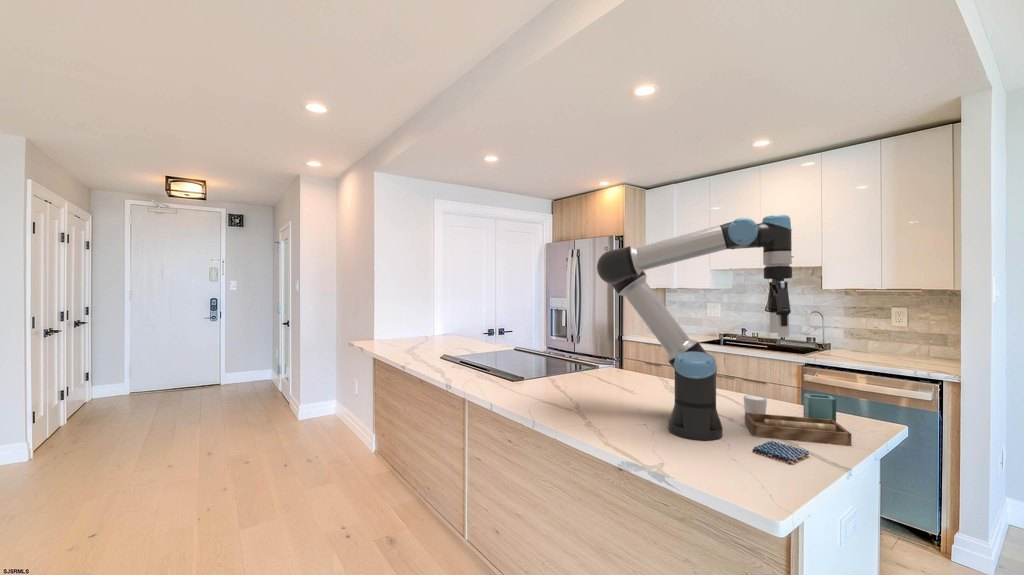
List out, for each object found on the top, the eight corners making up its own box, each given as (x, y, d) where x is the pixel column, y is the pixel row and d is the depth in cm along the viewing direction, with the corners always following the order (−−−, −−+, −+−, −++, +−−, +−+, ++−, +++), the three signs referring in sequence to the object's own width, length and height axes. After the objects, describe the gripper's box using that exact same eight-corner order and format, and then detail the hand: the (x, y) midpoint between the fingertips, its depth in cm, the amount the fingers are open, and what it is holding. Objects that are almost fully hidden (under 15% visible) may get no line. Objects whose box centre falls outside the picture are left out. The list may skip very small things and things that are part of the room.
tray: (753, 436, 129) (753, 425, 129) (745, 422, 142) (745, 412, 142) (851, 445, 121) (851, 433, 121) (832, 430, 134) (832, 419, 134)
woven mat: (812, 458, 114) (812, 450, 114) (792, 467, 108) (792, 459, 108) (770, 446, 122) (770, 439, 122) (750, 454, 116) (750, 446, 116)
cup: (809, 426, 138) (809, 397, 138) (803, 421, 143) (803, 393, 143) (836, 428, 136) (836, 399, 136) (829, 423, 141) (829, 395, 141)
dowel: (763, 418, 134) (827, 407, 131) (761, 420, 136) (824, 409, 133) (773, 442, 130) (839, 432, 127) (771, 444, 133) (836, 434, 129)
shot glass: (765, 417, 148) (765, 396, 148) (768, 422, 142) (768, 401, 142) (742, 414, 151) (742, 394, 151) (744, 420, 145) (744, 398, 145)
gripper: (801, 263, 122) (803, 339, 122) (783, 267, 145) (784, 331, 145) (771, 264, 125) (772, 339, 125) (757, 268, 148) (758, 331, 148)
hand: (779, 335), depth 135 cm, fingers open, 13 cm apart
